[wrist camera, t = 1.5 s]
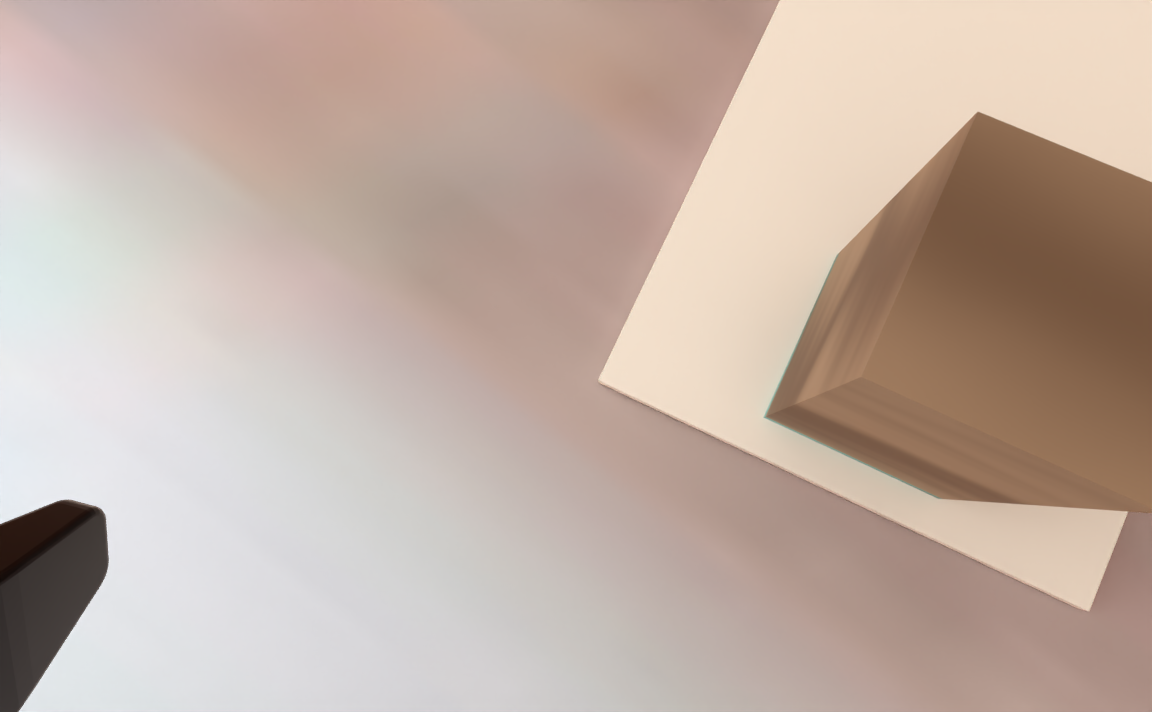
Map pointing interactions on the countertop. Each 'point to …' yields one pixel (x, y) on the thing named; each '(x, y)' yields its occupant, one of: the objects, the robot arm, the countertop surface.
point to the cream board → (850, 201)
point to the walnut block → (990, 331)
